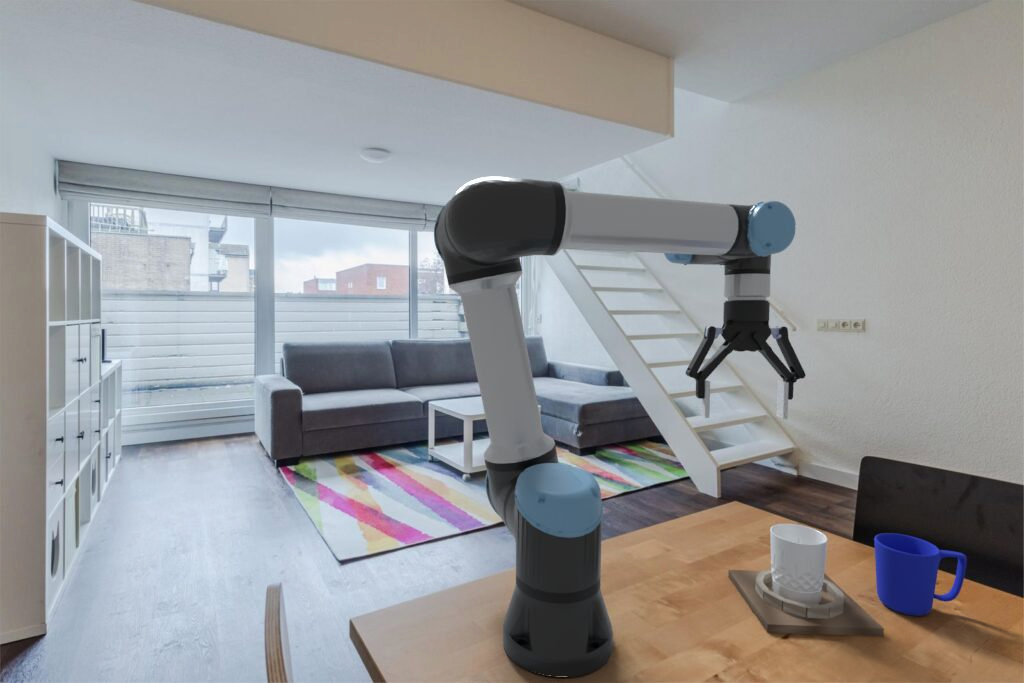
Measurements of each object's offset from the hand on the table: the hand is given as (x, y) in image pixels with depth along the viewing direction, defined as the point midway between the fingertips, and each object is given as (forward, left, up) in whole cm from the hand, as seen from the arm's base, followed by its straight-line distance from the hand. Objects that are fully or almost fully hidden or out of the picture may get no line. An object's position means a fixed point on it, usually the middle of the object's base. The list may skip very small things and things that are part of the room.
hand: (743, 417), depth 96 cm
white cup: (+4, -14, -26) cm, 29 cm away
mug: (+22, -14, -27) cm, 37 cm away
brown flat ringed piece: (+4, -14, -27) cm, 30 cm away
